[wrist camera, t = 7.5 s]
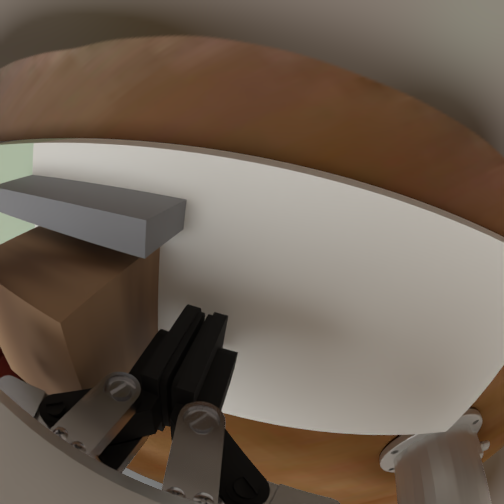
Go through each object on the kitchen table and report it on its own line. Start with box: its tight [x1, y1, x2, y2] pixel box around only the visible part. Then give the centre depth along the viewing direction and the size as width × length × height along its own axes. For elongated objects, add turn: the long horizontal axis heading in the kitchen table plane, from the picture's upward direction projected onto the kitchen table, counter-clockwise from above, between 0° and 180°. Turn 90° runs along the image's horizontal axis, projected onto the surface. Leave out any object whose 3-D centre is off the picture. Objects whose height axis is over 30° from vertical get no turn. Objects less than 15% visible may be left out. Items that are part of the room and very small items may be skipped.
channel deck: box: [0, 138, 504, 435], centre depth 13 cm, size 48×14×7 cm, turn 80°
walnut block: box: [0, 226, 160, 395], centre depth 10 cm, size 6×6×6 cm
